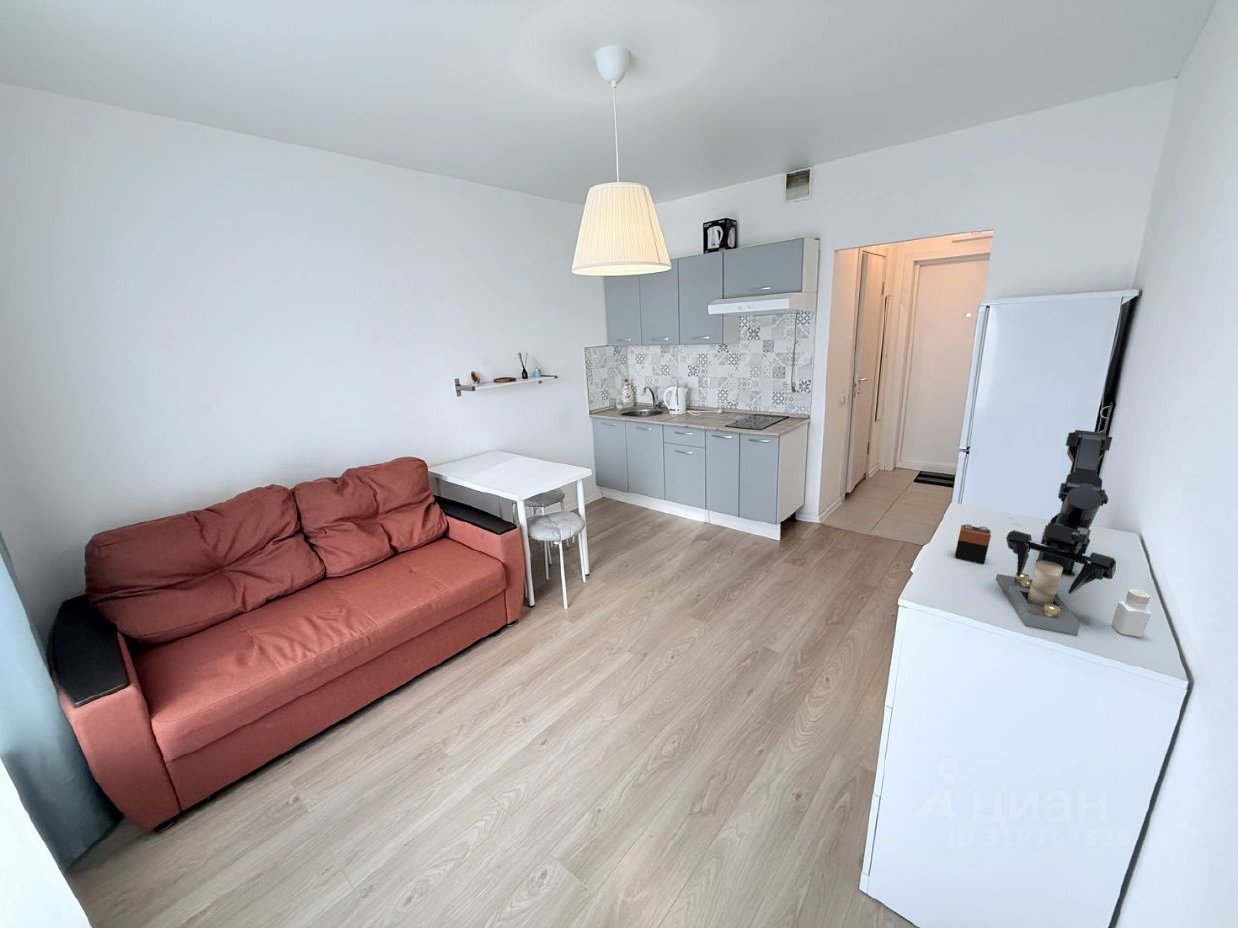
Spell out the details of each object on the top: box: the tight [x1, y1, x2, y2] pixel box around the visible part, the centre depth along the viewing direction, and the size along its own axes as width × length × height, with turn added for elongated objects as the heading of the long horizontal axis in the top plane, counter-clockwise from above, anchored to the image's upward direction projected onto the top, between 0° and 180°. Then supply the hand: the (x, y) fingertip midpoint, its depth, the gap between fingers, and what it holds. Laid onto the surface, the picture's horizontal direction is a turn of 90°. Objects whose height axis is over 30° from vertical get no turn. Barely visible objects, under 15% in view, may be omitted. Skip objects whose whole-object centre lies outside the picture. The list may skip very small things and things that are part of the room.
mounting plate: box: [995, 571, 1081, 636], centre depth 114 cm, size 9×22×5 cm, turn 157°
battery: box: [955, 523, 992, 565], centre depth 136 cm, size 4×7×10 cm, turn 54°
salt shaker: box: [1111, 588, 1152, 638], centre depth 103 cm, size 4×4×10 cm
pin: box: [1027, 560, 1063, 606], centre depth 110 cm, size 4×4×12 cm
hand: (1043, 584), depth 109 cm, fingers open, 9 cm apart
